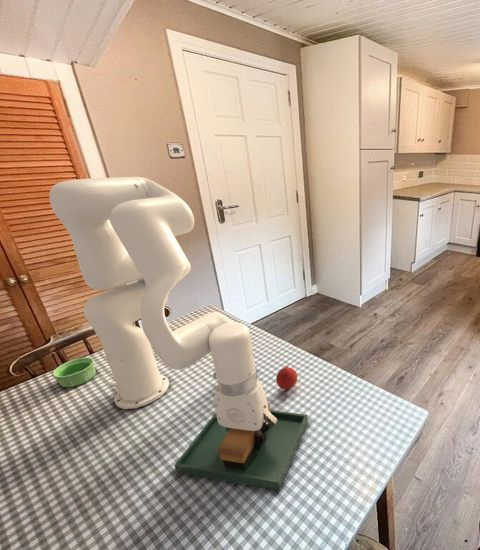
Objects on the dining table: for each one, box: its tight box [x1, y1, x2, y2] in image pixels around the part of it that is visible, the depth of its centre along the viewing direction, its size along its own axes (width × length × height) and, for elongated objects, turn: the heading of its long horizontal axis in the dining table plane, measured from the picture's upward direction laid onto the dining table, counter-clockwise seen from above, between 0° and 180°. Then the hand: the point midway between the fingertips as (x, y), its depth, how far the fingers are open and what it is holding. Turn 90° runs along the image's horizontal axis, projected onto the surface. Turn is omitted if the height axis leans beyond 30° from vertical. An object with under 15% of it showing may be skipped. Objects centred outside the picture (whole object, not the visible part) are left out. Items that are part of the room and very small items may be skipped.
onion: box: [275, 364, 298, 391], centre depth 86 cm, size 6×6×8 cm
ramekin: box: [52, 357, 97, 388], centre depth 90 cm, size 9×9×4 cm
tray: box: [174, 409, 309, 491], centre depth 70 cm, size 23×17×2 cm
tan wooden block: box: [218, 402, 272, 470], centre depth 69 cm, size 13×5×6 cm, turn 171°
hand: (249, 441), depth 70 cm, fingers closed on tan wooden block, 5 cm apart
